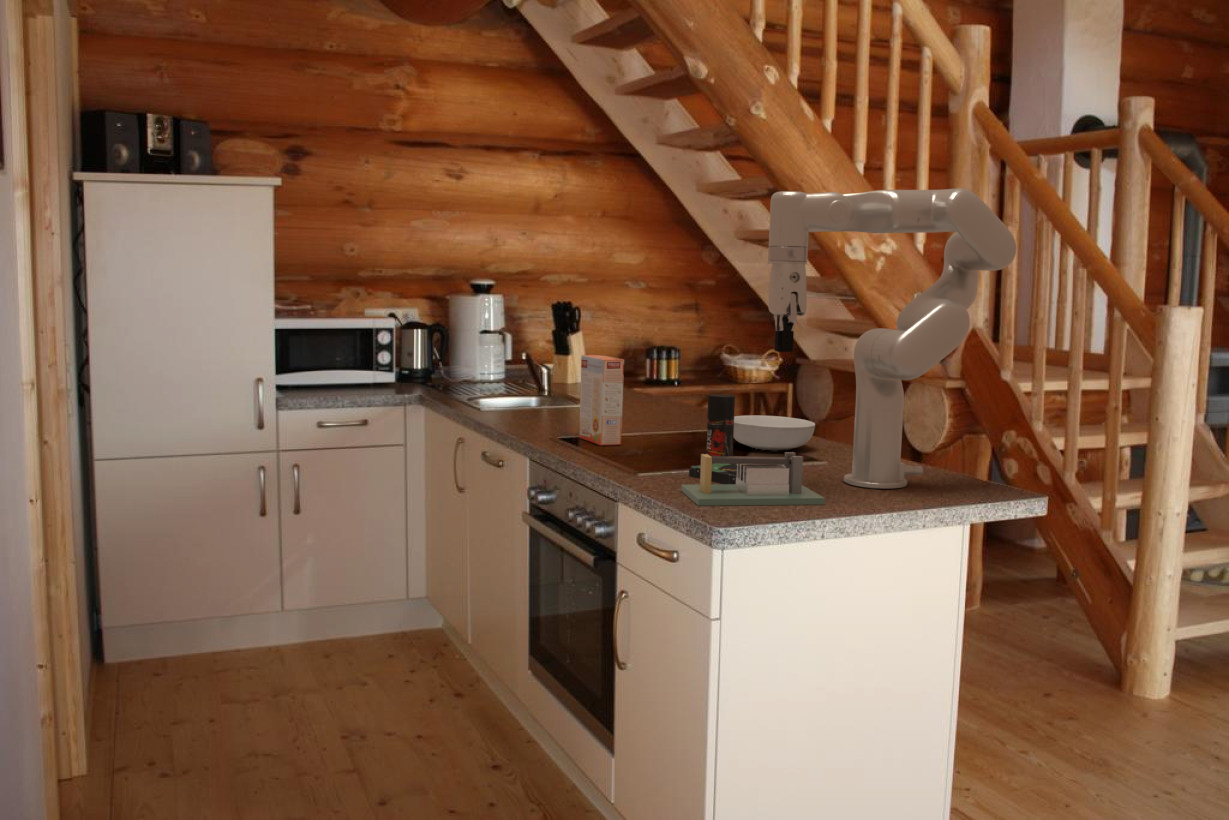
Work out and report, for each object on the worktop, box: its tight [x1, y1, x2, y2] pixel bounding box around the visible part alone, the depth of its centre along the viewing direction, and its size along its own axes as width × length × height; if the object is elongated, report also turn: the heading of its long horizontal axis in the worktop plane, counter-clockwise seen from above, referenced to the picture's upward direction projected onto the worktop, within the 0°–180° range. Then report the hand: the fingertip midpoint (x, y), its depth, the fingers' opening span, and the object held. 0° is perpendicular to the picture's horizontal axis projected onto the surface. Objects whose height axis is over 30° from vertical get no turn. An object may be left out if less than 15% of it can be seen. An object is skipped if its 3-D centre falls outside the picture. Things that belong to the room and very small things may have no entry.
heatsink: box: [736, 464, 789, 495], centre depth 221 cm, size 8×8×5 cm
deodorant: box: [705, 393, 736, 456], centre depth 259 cm, size 6×6×15 cm
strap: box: [711, 455, 794, 465], centre depth 220 cm, size 17×3×2 cm, turn 100°
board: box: [680, 451, 826, 507], centre depth 221 cm, size 24×14×8 cm, turn 100°
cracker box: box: [578, 354, 625, 447], centre depth 284 cm, size 14×6×21 cm, turn 23°
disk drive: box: [688, 463, 737, 484], centre depth 240 cm, size 10×3×15 cm
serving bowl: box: [733, 414, 816, 451], centre depth 282 cm, size 21×21×7 cm
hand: (783, 351), depth 228 cm, fingers closed
